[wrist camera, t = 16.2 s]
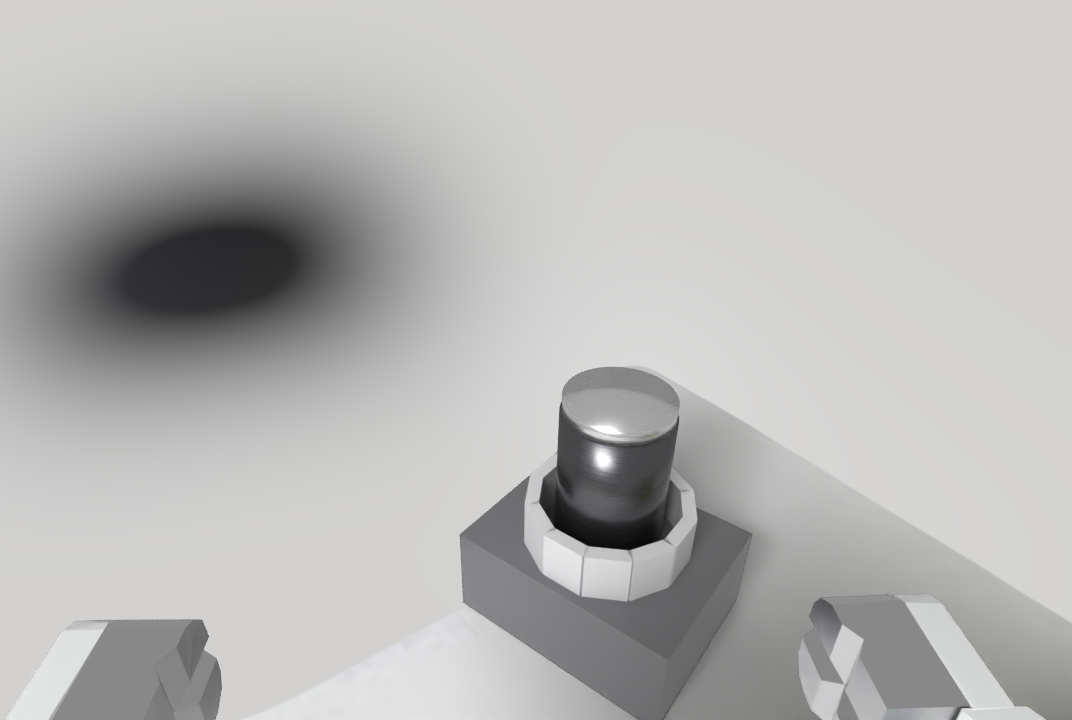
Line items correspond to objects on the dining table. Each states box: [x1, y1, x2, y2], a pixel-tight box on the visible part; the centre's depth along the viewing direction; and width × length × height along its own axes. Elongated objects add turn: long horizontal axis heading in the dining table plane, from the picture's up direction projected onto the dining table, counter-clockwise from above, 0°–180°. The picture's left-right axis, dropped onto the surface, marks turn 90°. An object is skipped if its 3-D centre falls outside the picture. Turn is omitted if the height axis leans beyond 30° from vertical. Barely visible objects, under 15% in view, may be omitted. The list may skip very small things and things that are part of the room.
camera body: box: [460, 453, 752, 720], centre depth 42 cm, size 14×11×9 cm
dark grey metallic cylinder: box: [554, 367, 679, 551], centre depth 39 cm, size 6×6×10 cm
